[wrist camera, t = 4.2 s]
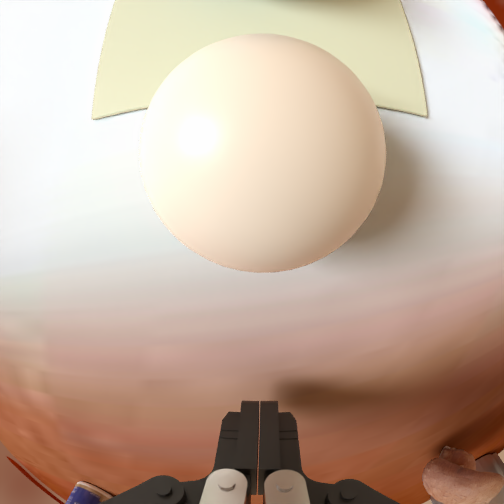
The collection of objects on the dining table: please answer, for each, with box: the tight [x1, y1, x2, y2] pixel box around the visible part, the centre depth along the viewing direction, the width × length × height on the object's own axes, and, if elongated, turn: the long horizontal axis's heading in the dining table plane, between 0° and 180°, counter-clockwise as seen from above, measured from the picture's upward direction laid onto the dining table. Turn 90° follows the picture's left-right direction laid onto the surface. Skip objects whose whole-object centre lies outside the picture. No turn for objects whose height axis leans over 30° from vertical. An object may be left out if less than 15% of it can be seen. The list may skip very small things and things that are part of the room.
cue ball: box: [139, 33, 386, 273], centre depth 6 cm, size 6×6×6 cm
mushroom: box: [422, 446, 504, 504], centre depth 9 cm, size 8×6×8 cm
